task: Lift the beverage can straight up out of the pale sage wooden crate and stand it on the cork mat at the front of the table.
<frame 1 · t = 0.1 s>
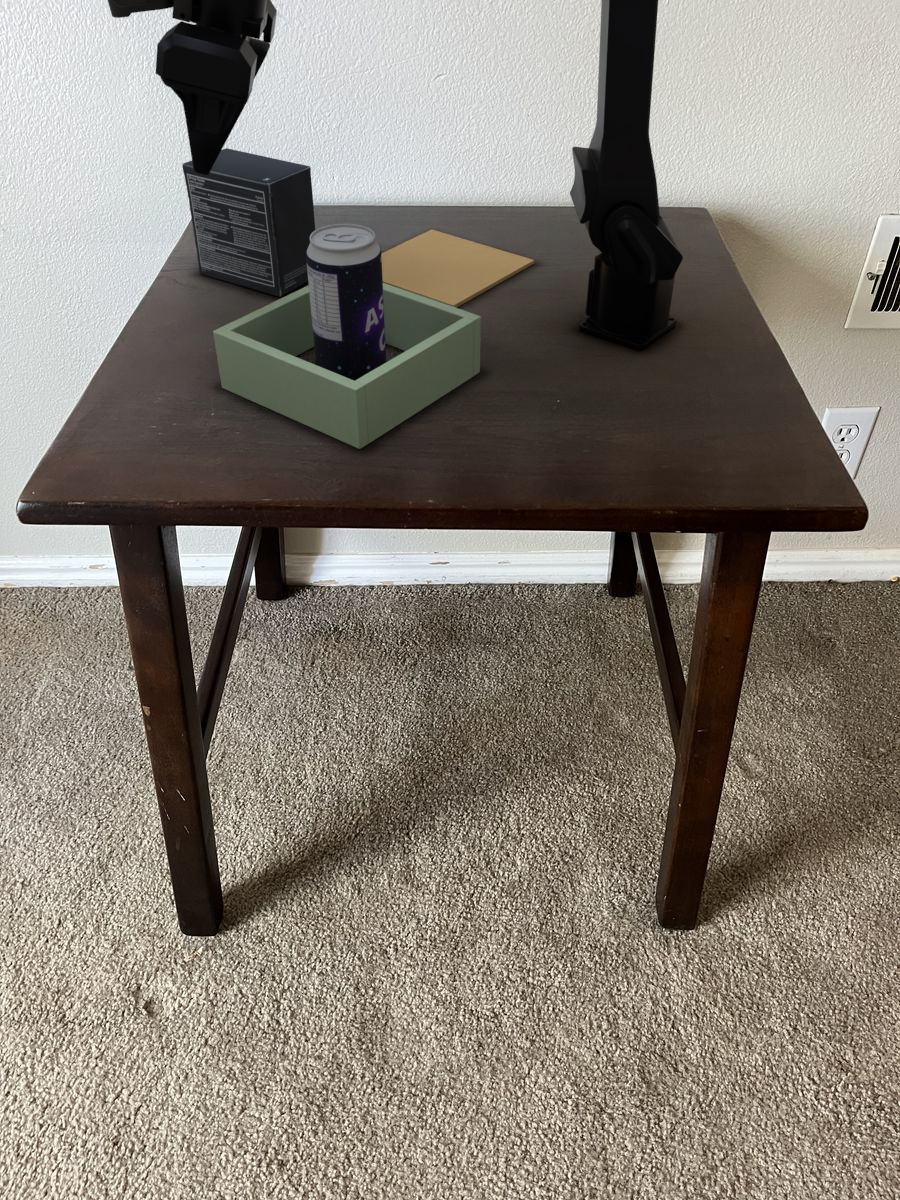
hand: (210, 153, 81), 15 cm above the table, tool pointing down, fingers open, 9 cm apart
mat: (442, 268, 102), on the table
beverage can: (352, 382, 85), resting in crate
crate: (352, 380, 85), on the table
small box: (260, 276, 101), on the table
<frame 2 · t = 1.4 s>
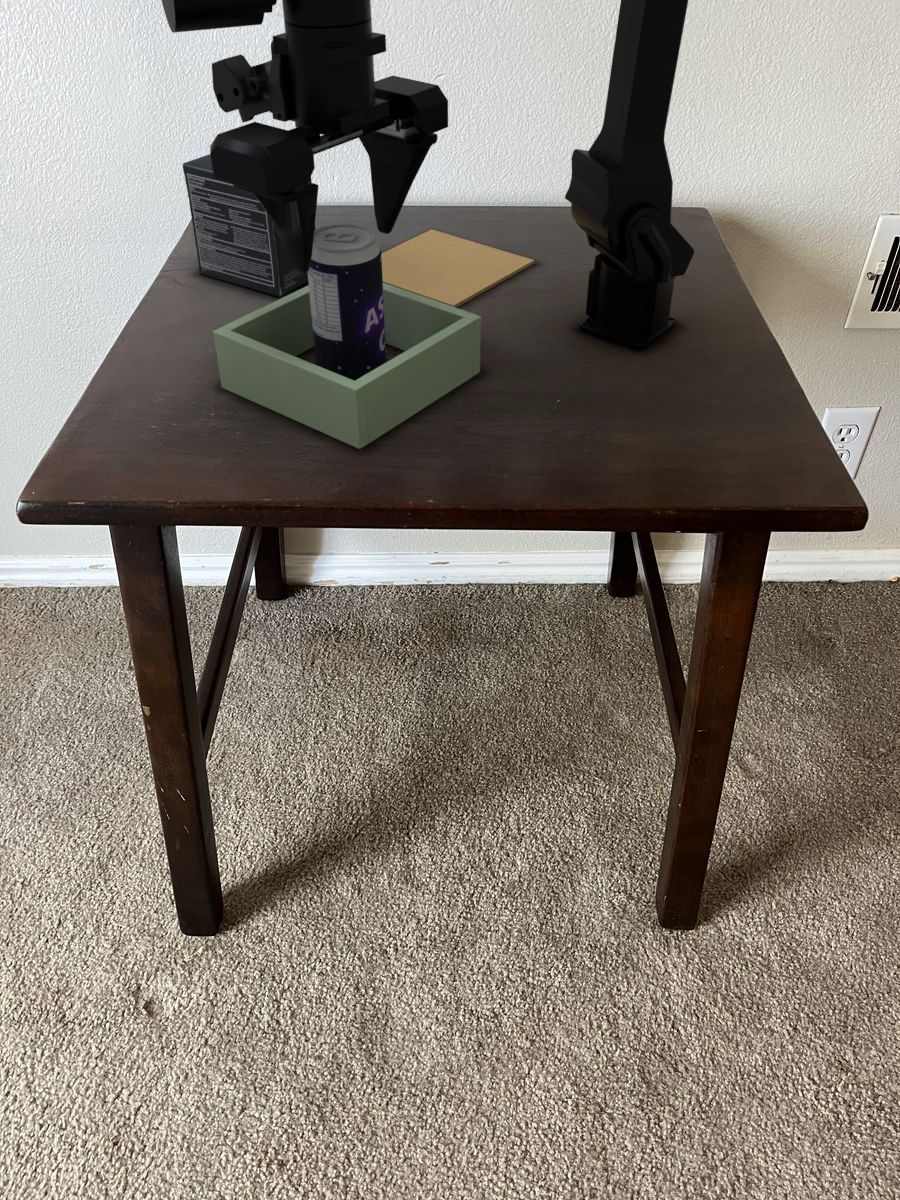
hand: (344, 251, 78), 11 cm above the table, tool pointing down, fingers open, 9 cm apart
nothing on the table moved.
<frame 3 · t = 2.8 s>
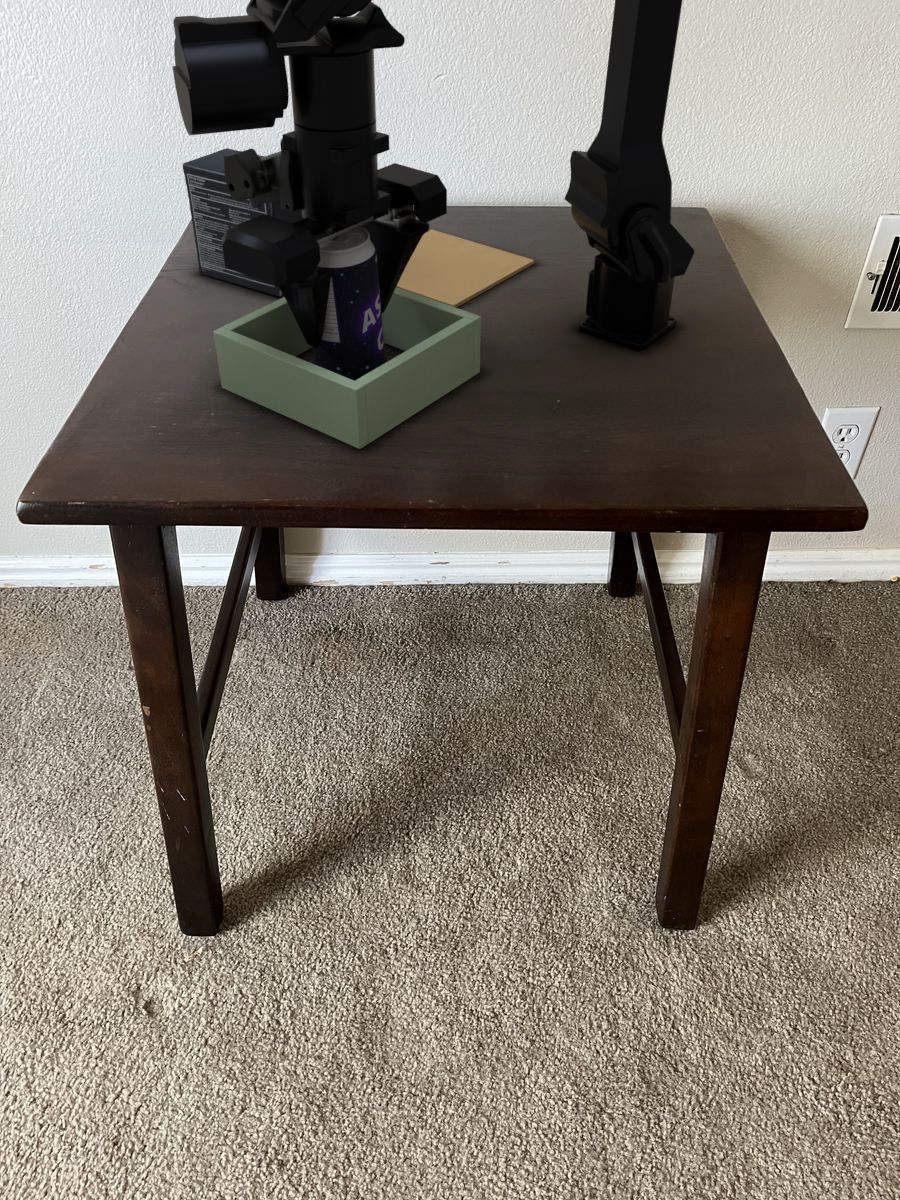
hand: (346, 328, 82), 5 cm above the table, tool pointing down, fingers closed on beverage can, 7 cm apart
beverage can: (352, 381, 85), resting in crate, touching gripper
everything else where it was.
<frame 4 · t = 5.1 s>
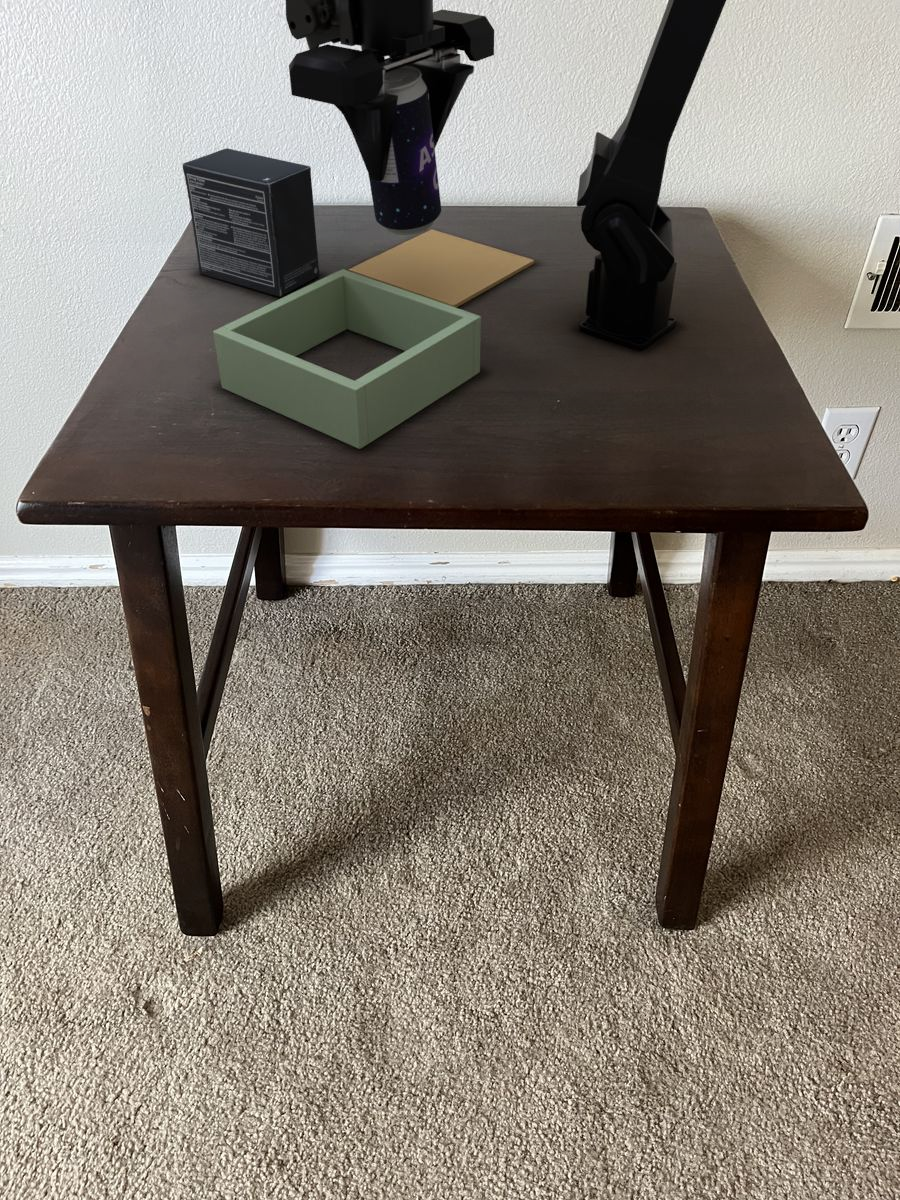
hand: (401, 169, 86), 13 cm above the table, tool pointing down, fingers closed on beverage can, 6 cm apart
beverage can: (409, 225, 89), point 8 cm above the table, touching gripper
everything else where it was.
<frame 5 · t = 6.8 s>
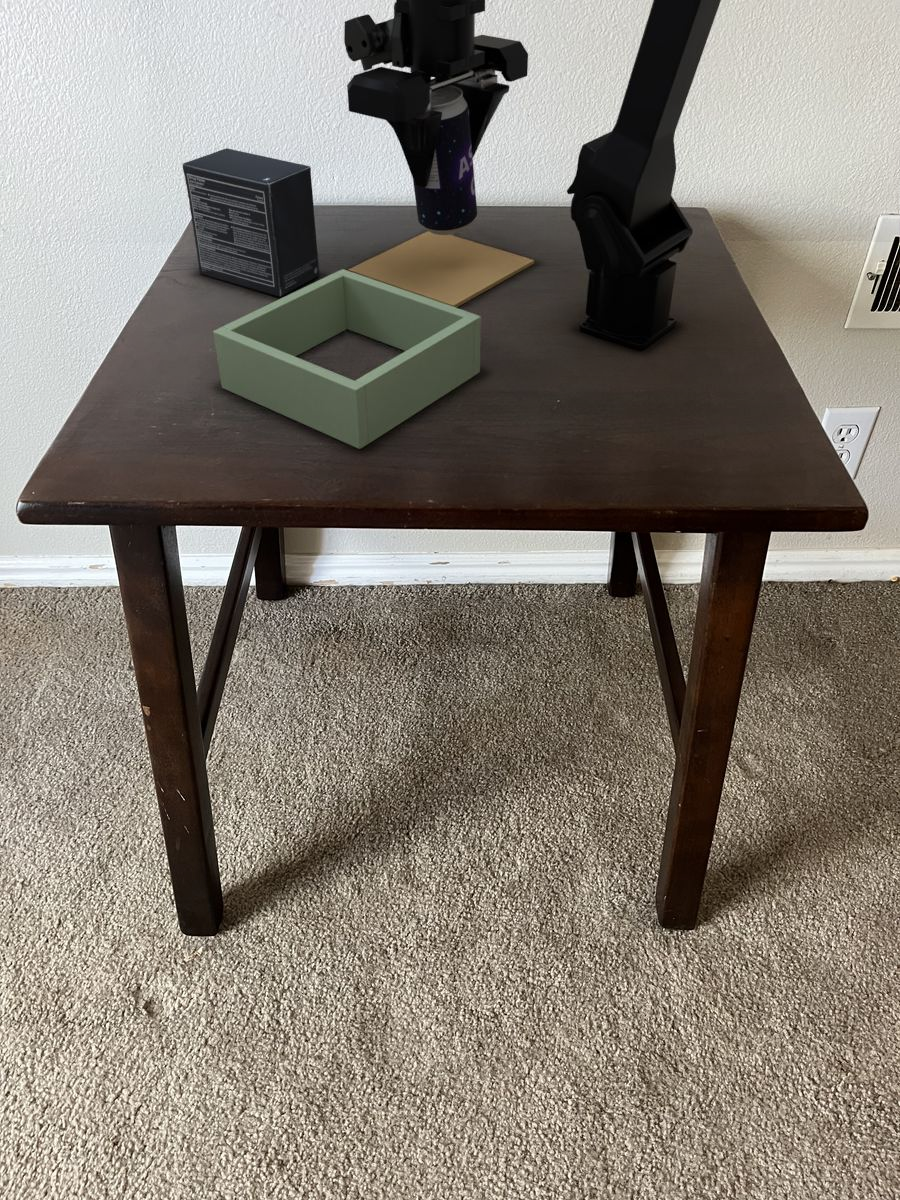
hand: (442, 177, 96), 9 cm above the table, tool pointing down, fingers closed on beverage can, 6 cm apart
beverage can: (448, 226, 100), point 4 cm above the table, touching gripper
everything else where it was.
when the fingers open (5 cm above the table, at t = 8.0 s): beverage can stays where it is, resting on mat.
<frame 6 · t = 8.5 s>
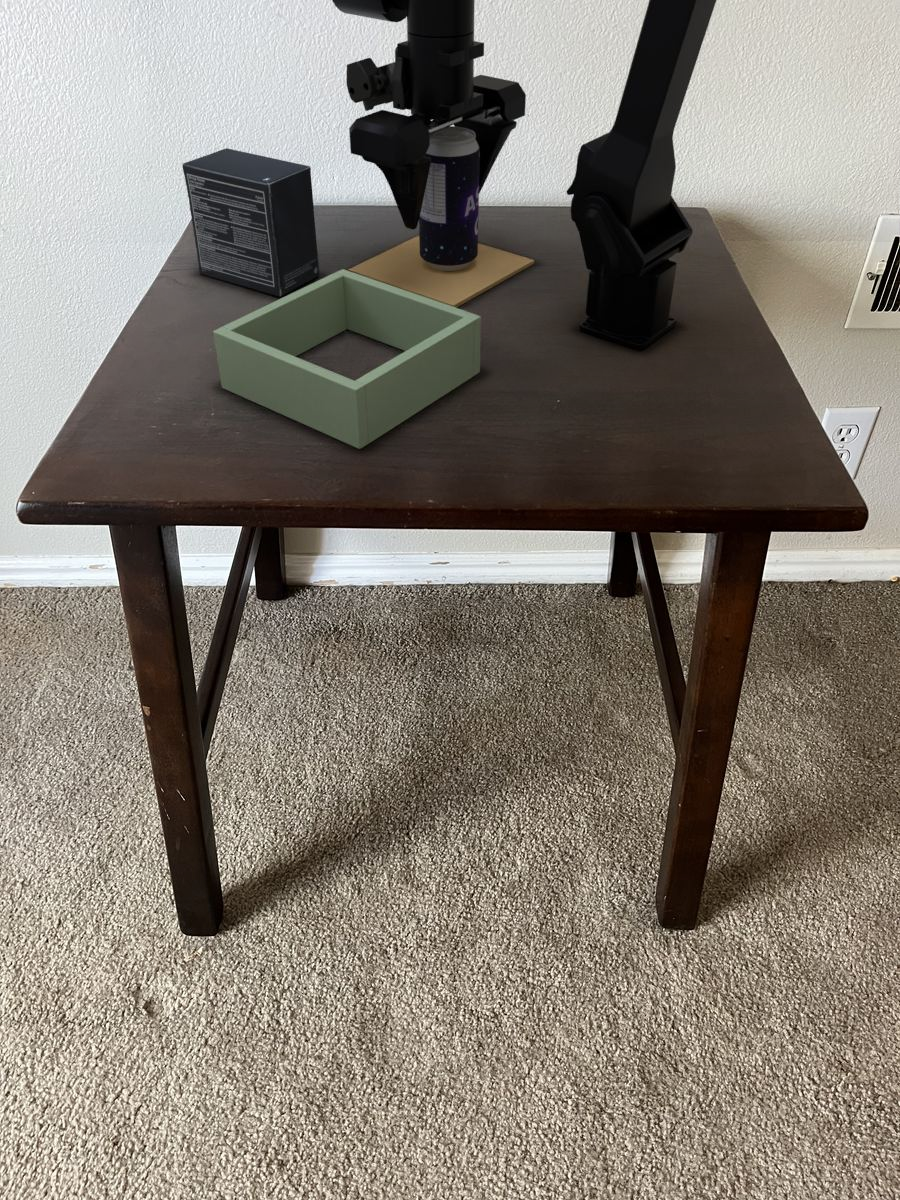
hand: (441, 213, 99), 5 cm above the table, tool pointing down, fingers open, 9 cm apart
beverage can: (448, 264, 102), resting on mat
everything else where it was.
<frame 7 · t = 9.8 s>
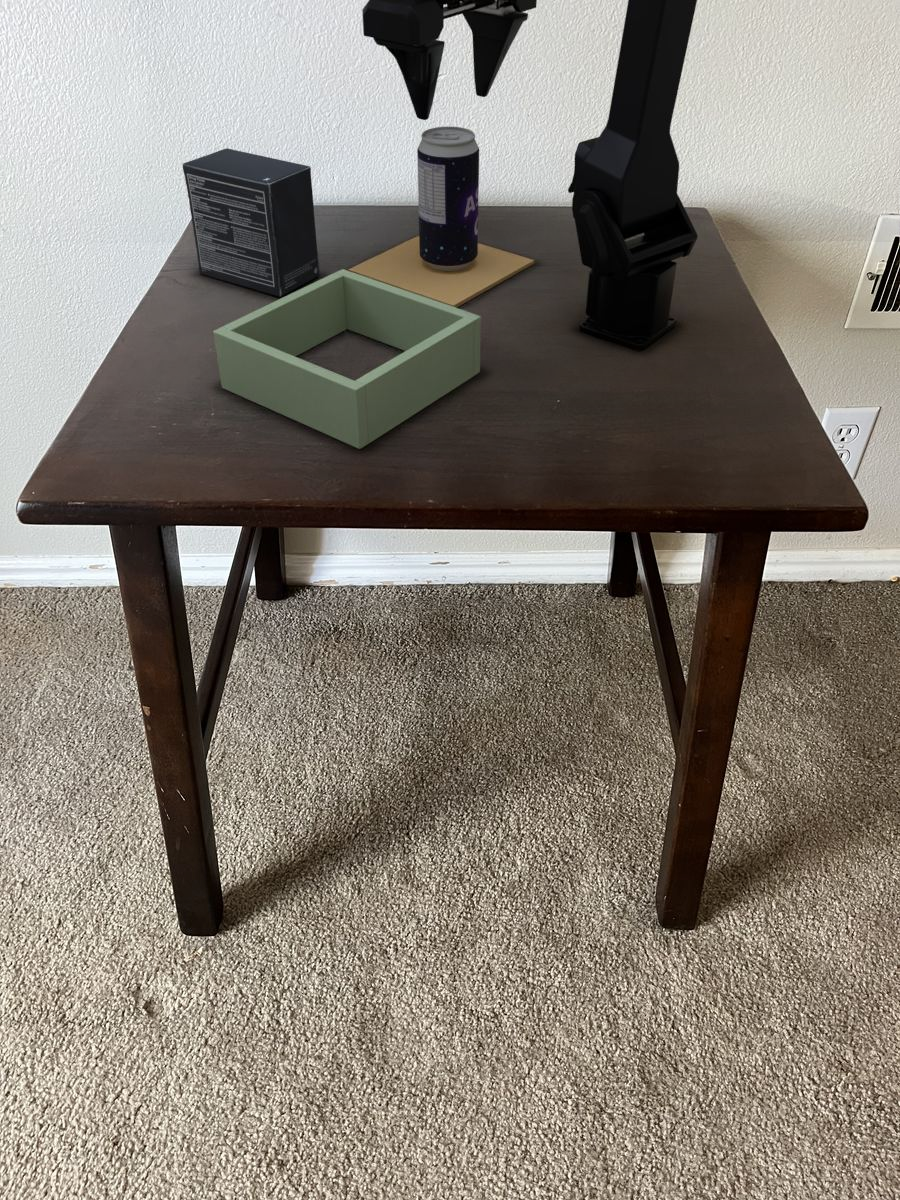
hand: (452, 107, 98), 13 cm above the table, tool pointing down, fingers open, 9 cm apart
nothing on the table moved.
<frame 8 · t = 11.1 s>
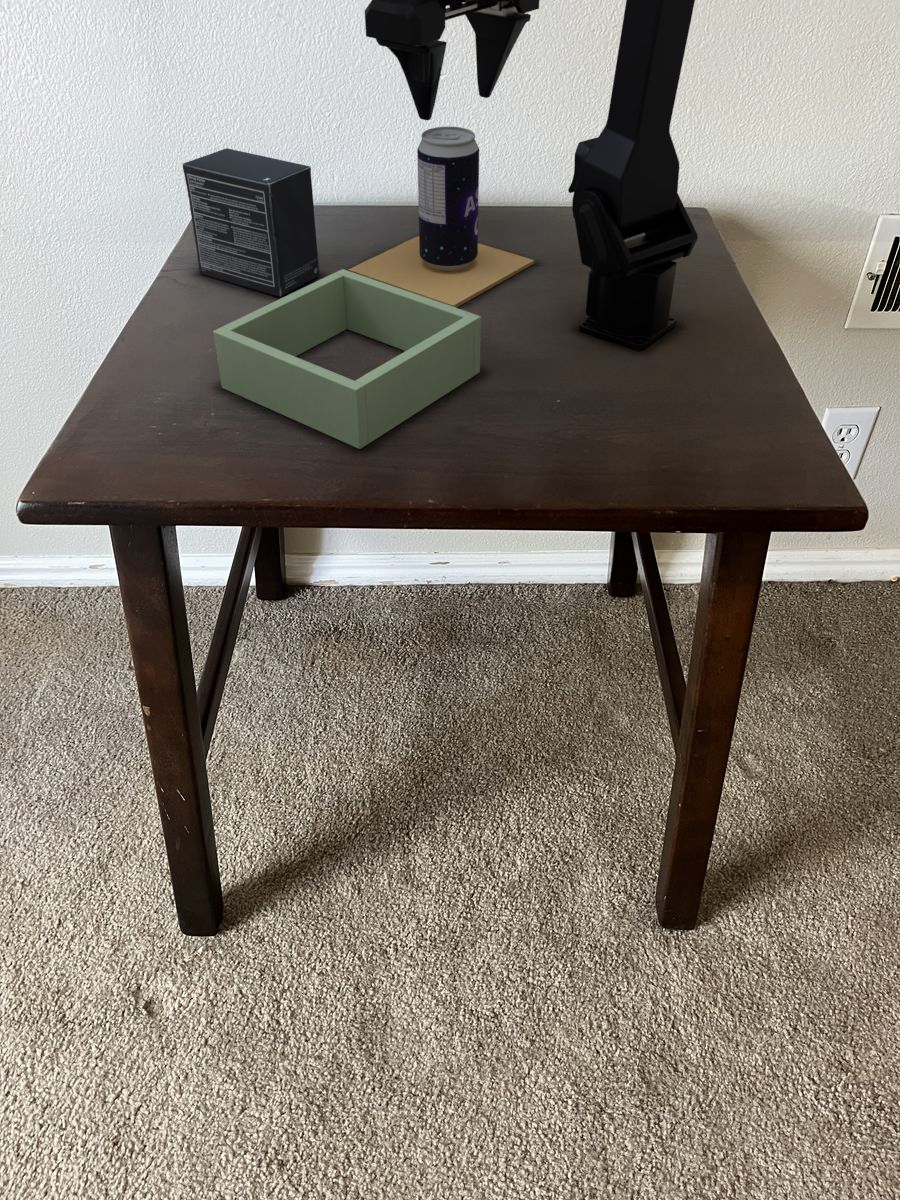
hand: (455, 107, 99), 13 cm above the table, tool pointing down, fingers open, 9 cm apart
nothing on the table moved.
at the end: beverage can inside the target area on the mat (0.8 cm from its centre), point 0.2 cm above the mat's base; beverage can tilted 0°; the gripper is holding nothing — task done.
